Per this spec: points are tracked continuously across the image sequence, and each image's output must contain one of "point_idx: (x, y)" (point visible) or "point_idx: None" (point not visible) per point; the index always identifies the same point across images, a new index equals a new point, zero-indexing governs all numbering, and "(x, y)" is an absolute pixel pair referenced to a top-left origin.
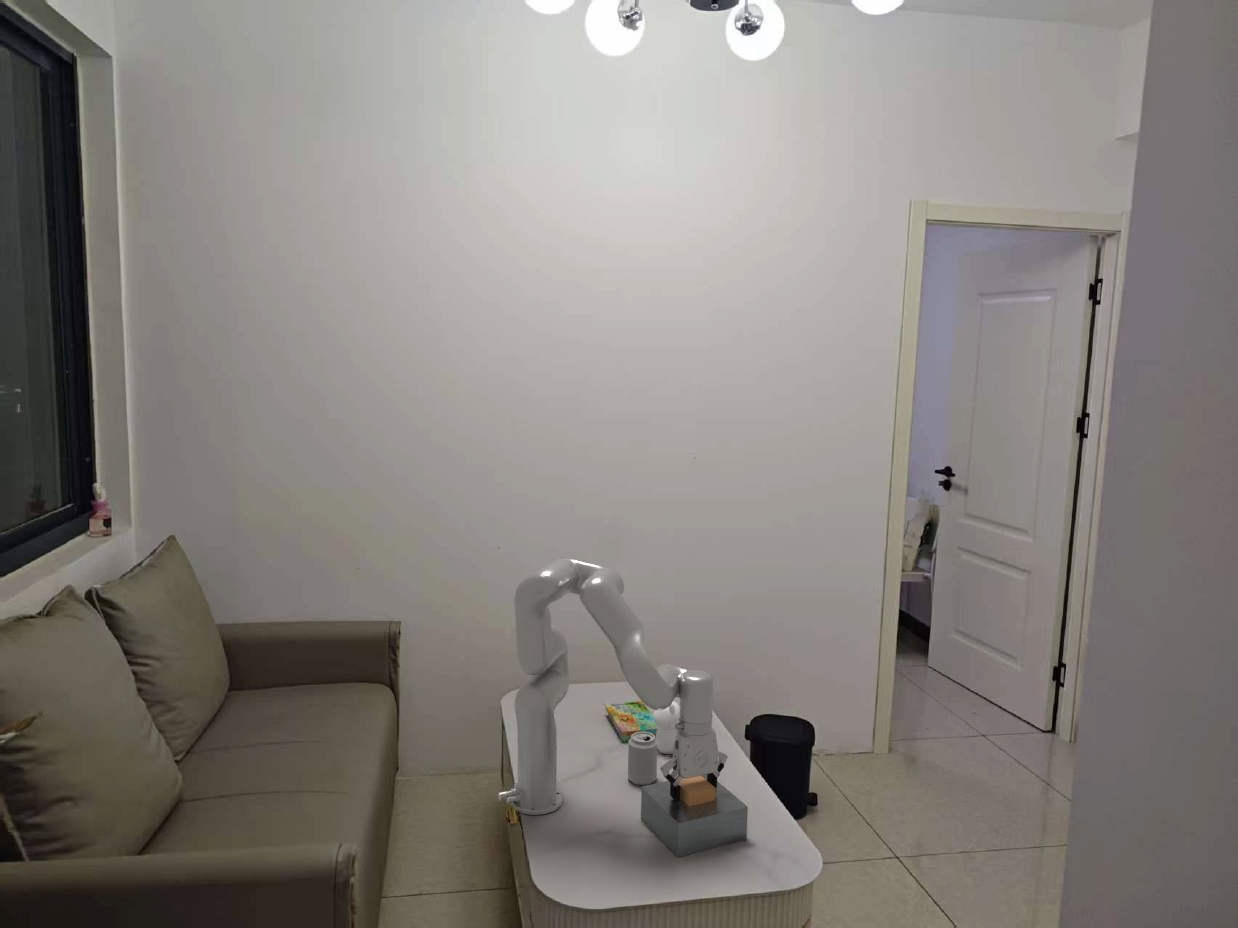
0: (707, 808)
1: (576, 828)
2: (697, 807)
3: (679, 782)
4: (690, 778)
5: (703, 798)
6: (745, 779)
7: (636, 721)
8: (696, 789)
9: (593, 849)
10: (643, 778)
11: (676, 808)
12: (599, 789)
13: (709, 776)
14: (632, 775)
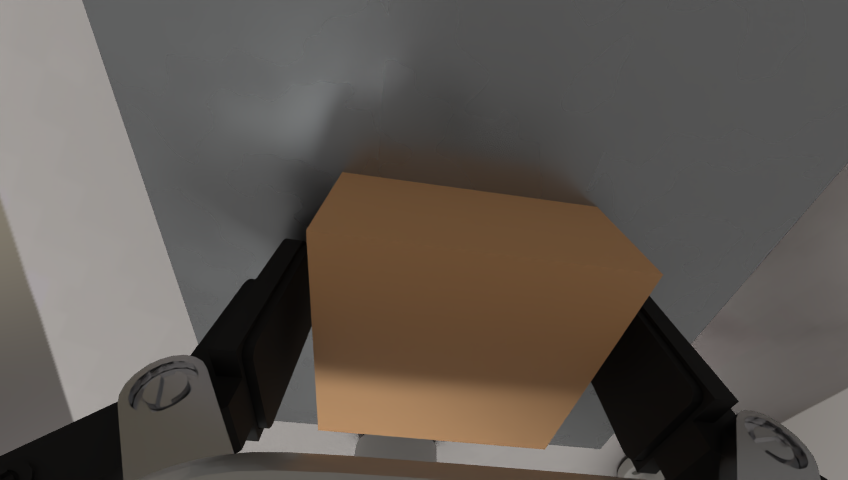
0: (498, 91)
1: (737, 366)
2: (555, 158)
3: (739, 444)
4: (420, 425)
5: (465, 206)
6: (75, 335)
7: None
8: (518, 303)
9: (838, 267)
10: (415, 447)
11: (689, 232)
12: (521, 448)
13: (270, 393)
14: None
